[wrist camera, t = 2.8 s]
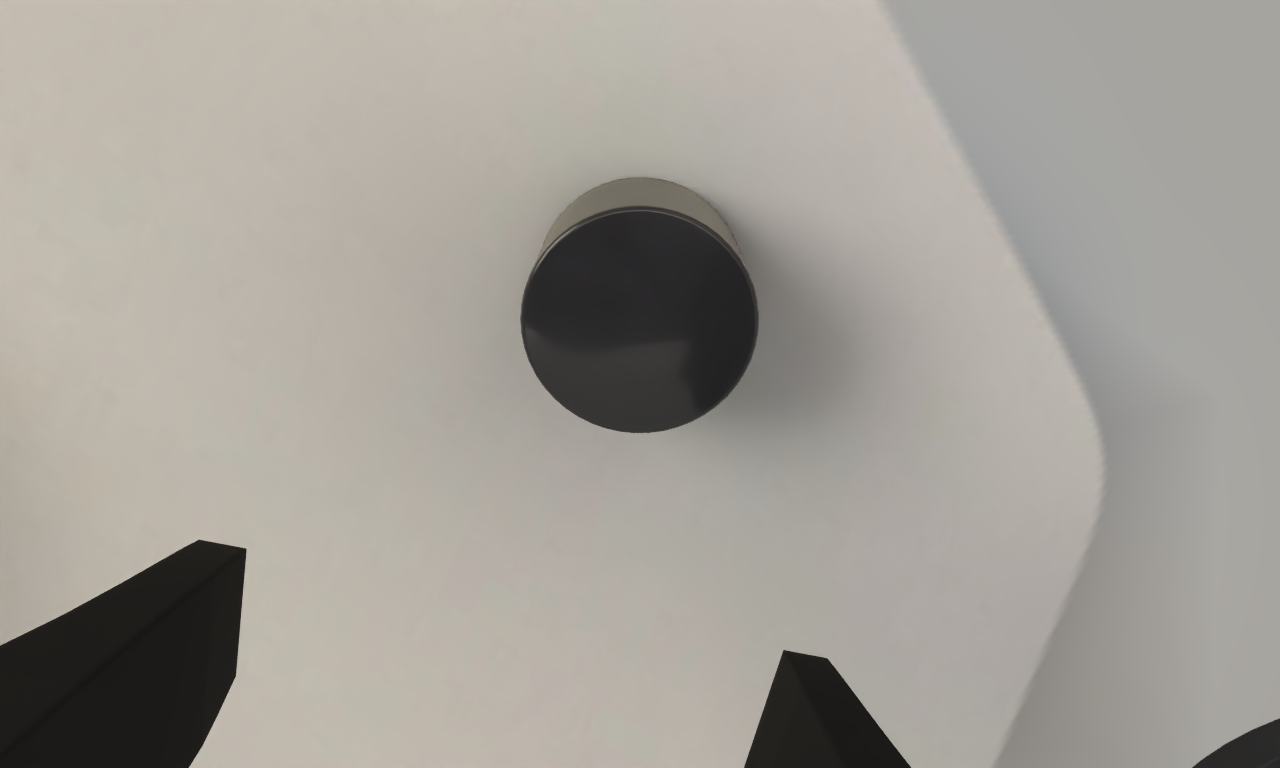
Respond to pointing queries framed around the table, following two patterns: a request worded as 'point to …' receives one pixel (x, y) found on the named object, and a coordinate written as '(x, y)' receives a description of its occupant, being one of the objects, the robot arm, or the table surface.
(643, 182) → the dark grey cylinder
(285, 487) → the table surface
